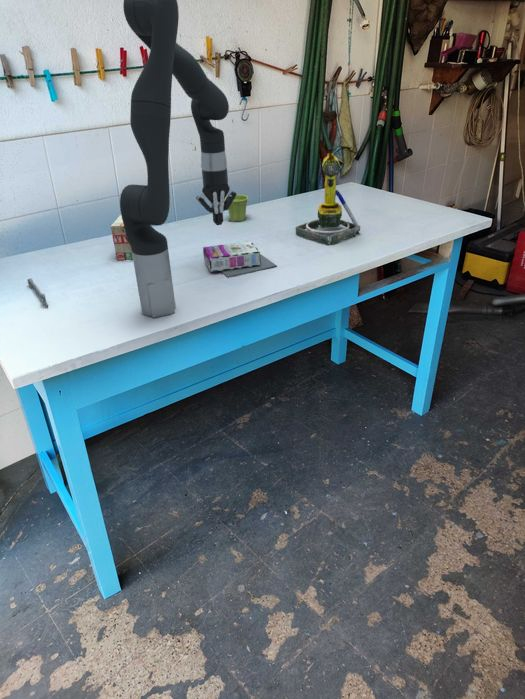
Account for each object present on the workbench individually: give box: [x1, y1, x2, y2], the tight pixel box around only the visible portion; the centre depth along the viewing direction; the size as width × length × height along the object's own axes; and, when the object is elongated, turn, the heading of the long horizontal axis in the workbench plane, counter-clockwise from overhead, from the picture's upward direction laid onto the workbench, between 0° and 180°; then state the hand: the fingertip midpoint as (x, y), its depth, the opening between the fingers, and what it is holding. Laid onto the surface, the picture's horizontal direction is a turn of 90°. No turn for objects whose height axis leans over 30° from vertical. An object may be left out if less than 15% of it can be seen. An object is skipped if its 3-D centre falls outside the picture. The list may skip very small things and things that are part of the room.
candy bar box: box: [202, 240, 261, 273], centre depth 167 cm, size 11×5×16 cm
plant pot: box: [224, 194, 249, 222], centre depth 208 cm, size 9×9×9 cm
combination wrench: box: [27, 277, 49, 308], centre depth 152 cm, size 4×1×20 cm
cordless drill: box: [295, 153, 361, 246], centre depth 184 cm, size 18×19×28 cm
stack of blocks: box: [110, 214, 133, 262], centre depth 181 cm, size 21×6×12 cm, turn 178°
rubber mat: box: [220, 253, 278, 279], centre depth 171 cm, size 20×17×1 cm
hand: (218, 224), depth 164 cm, fingers closed
